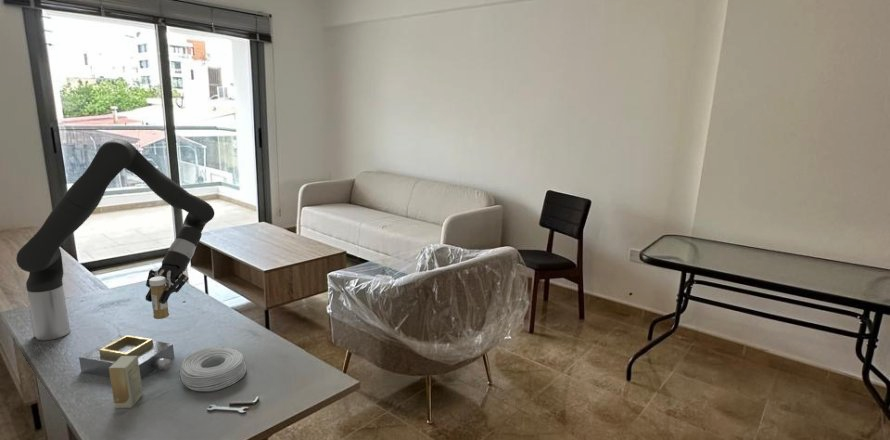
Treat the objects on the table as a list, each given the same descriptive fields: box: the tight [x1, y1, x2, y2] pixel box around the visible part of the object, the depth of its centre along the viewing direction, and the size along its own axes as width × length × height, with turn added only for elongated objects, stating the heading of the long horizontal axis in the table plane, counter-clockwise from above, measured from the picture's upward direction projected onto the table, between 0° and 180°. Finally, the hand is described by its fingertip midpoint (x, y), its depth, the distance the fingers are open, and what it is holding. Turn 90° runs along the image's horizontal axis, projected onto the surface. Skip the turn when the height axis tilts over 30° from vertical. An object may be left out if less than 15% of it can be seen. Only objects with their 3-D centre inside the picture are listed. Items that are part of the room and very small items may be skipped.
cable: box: [178, 347, 247, 392], centre depth 142 cm, size 18×18×6 cm
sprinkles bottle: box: [149, 276, 170, 320], centre depth 154 cm, size 5×5×13 cm
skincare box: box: [109, 356, 144, 409], centre depth 128 cm, size 6×4×12 cm
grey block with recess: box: [78, 334, 175, 381], centre depth 145 cm, size 24×14×7 cm, turn 78°
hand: (154, 301), depth 153 cm, fingers closed on sprinkles bottle, 4 cm apart
